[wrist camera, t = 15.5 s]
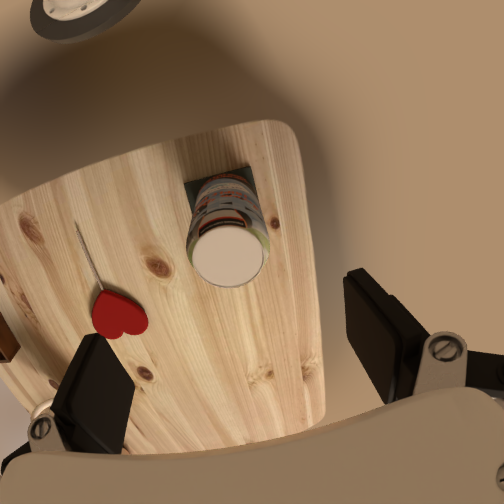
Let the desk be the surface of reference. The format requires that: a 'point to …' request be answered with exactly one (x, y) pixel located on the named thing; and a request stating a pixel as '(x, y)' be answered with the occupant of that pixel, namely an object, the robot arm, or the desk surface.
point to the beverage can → (227, 232)
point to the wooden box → (7, 342)
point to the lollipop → (115, 311)
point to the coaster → (195, 186)
